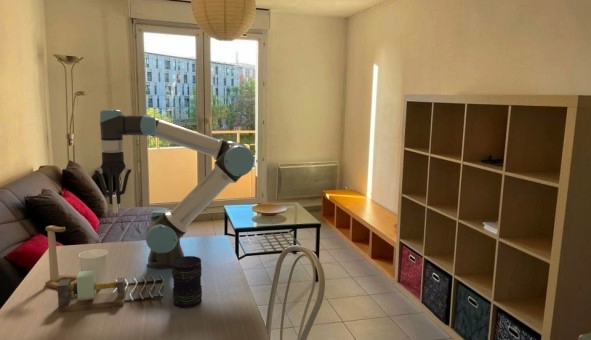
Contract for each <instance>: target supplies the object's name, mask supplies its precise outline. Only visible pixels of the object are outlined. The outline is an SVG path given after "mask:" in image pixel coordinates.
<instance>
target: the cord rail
mask: <svg viewBox="0 0 591 340" xmlns="http://www.w3.org/2000/svg"><path fill="white" fill-rule="evenodd" d="M71 282H72V281H71V279H66V280H60V282H58V283H59V284H58V286H57V289H56V290H57V302H58V306H57V313H64V312H65V313H67V312H73V311H76V312H77V311H83V310H91V309H102V308H103V309H104V308H110V307H119V306H121V307H122V306H124V305H125V300H126V296H127V292H126V285H125V277H118V278H117V280H116V281H109V282H108V281H107V282H106V283H96V284H94V290H102V289H103V290H106V289H114V288H116V291H115V292H113V291H112V292H104V293H102V292H101V293H95V296H94V297H88V298H78V294H77V283H74V286H71ZM72 295H73V296H72Z"/></svg>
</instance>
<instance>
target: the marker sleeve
mask: <svg viewBox="0 0 591 340" xmlns="http://www.w3.org/2000/svg"><path fill="white" fill-rule="evenodd" d="M76 276H77V277H76V279H77V294H76V295H77V296H78V298H88V297H94V296H95V294H97V290H98V289H96V290H94V284H96V273H95V270H93V271H82V272H81V271H79V272H78V274H77V275H76Z"/></svg>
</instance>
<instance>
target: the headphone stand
mask: <svg viewBox="0 0 591 340" xmlns="http://www.w3.org/2000/svg"><path fill="white" fill-rule="evenodd" d="M45 231H46V232H47V242H48V243H47V244H48V245H47V246H48V262H49V263H48V264H49V280H46V281H45V284H44V285H45V287H47V288H52V289H56V290H57V286H58V284H59V282H60V280H66V279H71V286H74V283H77V279H76V277H77V275H67V274H66V275H64V274H63V275H62V274H61V275H59V273H60V272H59V265H58V254H57V253H58V252H57V242H56V233H63V232H65V231H66V227H65V226H57V225H47V226H45Z"/></svg>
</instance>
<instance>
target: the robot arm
mask: <svg viewBox="0 0 591 340" xmlns="http://www.w3.org/2000/svg"><path fill="white" fill-rule="evenodd" d="M122 112H123V111H122V110H120V109H102V110H101V111H100V114H99V116H100V117H99V126H100V145H101V151H102V152H101V165H100V168H97V169H95V170H94V173H95V174H96V176H97V177H98V178H97V179H98V180H99V183H100V186H101V189H102V193H103V195H105V196H108V198H109V199H108V200H109V202H108V203H109V205H112V214H118V213H119V205H120V204H121V202H122V201H121V200H122V199H121V196H122V195H125V193H126V190H127V185H128V181H129V176H130V174H131V172H132V171H133V170H132V168H130V167H128V166H126V164H125V157H124V154H125V153H124V152H123V150H124V139H123V138H124V136H144V137H147V136H151V137H154V138H157V139H160V140H162V141H166V142H169V143H172V144H175V145H178V146H180V147H183V148H187V149H189V150H192V151H196V152H197V153H200V154H204V155H207V156H209V157H213V160H215V161H214V163H213V166H214V167H213V169H211V170H210V172H209V173H208V174H206V176H204V178H203V179H201V181H200V182H199V183H198V184H197V185H196V186H195V187H194V188H193V189H192V190H191V191H190V192H189V193H188V194H187V195H186V196H185V197H184V198H183V199H182V200H181V201H179V203H178V204H177V205H176V206H175V207H174V208H173V209H158V210H153V211H151V213H150V218H149V219H150V226H149V228H148V229H147V232H146V233H145V242H146V246H147V247H148V248H149V249H150V251H149V254H148V257H147V264H148V266H149V267H151V268H153V269H160V270H161V269H162V270H163V269H164V270H165V269H172V266H173V265H172V261H173V260H174V259H176V258H179V257H184V256H185V254H184V251H183V248H182V245H181V238H182V237H183V236H185V234H186V233H187V232H188V225H190V224H191V223H193V221H194V220H195V219H196V218H197V217H198V216H199V215H200V214H201V213H202V212H203V210H205V209H206V208H207V207H208V206H209V205H210V203H212V202H213V201H214V200H215V199H216V197H218V196H219V194H221V193H222V192H223V191H224V189H226V187H227V186H228V185H230V184H235V183H237V182H238V181H239V180H240V179H241V178H242V177H243V176H245V175H248V174H249V173H250V172H251V170H252V169H253V167H254V165H255V157H254V154H253V152H252V150H251V149H250V148H249V147H248V146H247V145H245V144H244V143H242V142H238V141H232V140H229V139H224V138H219V139H217V138H215V137H211V136H210V135H209V136H208V135H206V134H202V133H200V132H197V131H194V130H191V129H189V128H186V127H183V126H180V125H177V124H174V123H171V122H168V121H165V120H162V119H159V118H156V117H155V116H153V115H149V114H147V113H142V114H139V115H138V114H135V115H127V114H126V115H125V114H123V113H122ZM123 171H124V173H125V175H124V179H123V183H122V188H121V181H120V180H121V177H120V176H121V174H122V173H123ZM103 173H105V175H106V176H107V181H108V182H107V184H108V186H107V185H106V181H105V178H104V176H103ZM113 176H114V177H115V189H116V190H115V194H114V185H113V184H114V183H113ZM107 187H108V188H107Z"/></svg>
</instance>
